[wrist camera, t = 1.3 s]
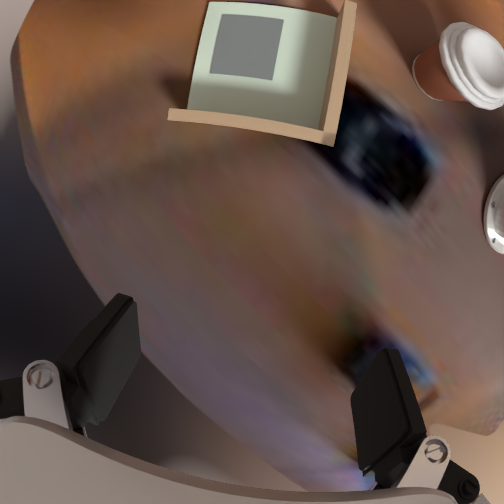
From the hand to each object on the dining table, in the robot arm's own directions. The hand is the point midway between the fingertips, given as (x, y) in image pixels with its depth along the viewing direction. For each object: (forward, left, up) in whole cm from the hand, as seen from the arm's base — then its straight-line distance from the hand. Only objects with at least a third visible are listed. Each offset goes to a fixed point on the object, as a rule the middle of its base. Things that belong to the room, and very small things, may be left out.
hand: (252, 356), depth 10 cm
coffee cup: (-16, -20, -25) cm, 36 cm away
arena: (+4, -15, -25) cm, 30 cm away
